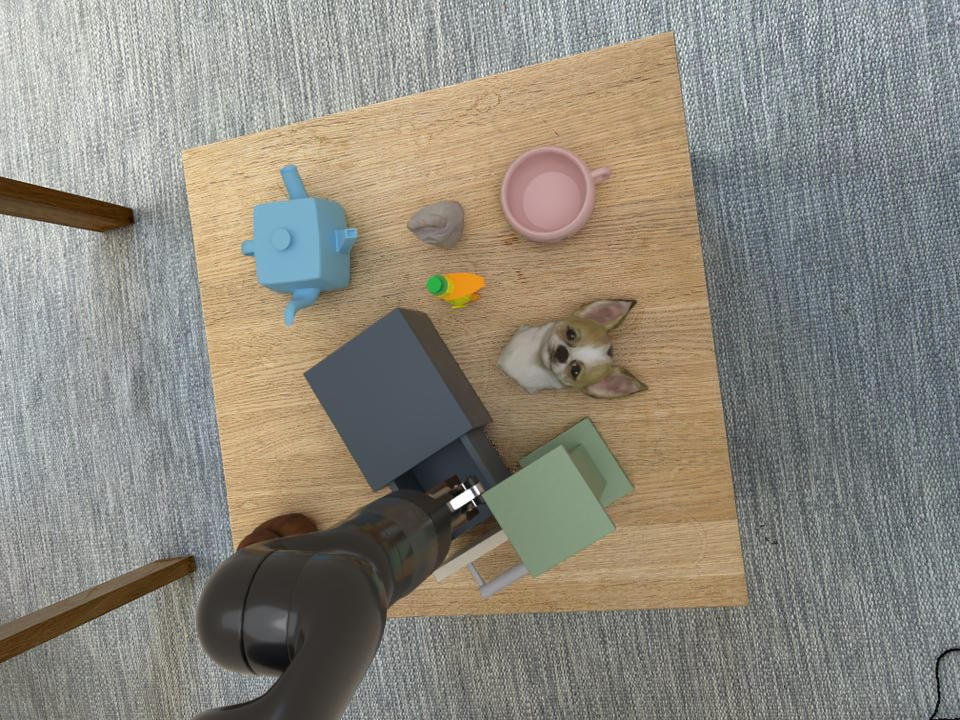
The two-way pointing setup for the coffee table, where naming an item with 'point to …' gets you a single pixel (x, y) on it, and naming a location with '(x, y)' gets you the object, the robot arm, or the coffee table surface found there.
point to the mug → (549, 193)
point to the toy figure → (456, 288)
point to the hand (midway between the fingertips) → (449, 505)
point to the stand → (559, 498)
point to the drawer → (484, 462)
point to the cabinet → (396, 395)
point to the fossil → (439, 223)
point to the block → (451, 483)
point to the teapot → (300, 245)
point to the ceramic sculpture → (572, 353)
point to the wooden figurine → (279, 529)
